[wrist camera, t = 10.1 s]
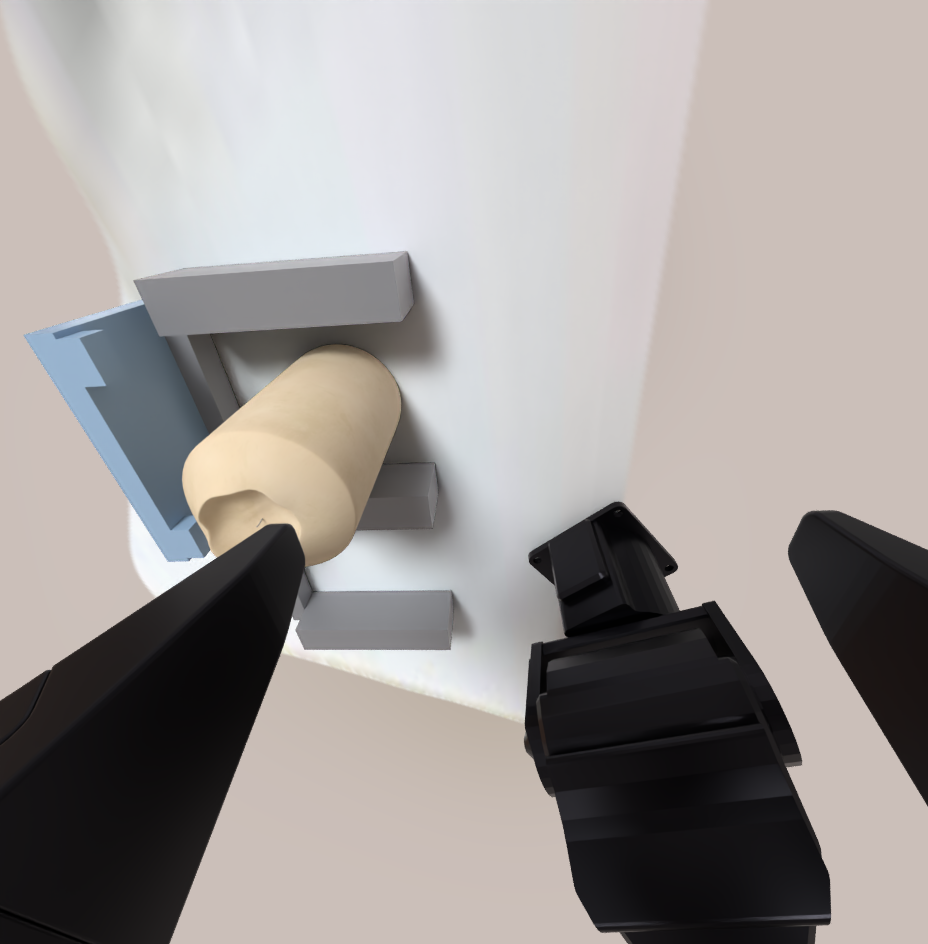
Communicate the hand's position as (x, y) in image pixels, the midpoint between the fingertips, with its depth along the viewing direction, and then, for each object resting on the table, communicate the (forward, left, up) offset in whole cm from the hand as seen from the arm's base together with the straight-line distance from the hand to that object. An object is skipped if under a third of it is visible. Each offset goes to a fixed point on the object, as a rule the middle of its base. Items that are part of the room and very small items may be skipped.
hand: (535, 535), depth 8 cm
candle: (+3, +8, -13) cm, 16 cm away
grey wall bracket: (0, +12, -13) cm, 18 cm away
